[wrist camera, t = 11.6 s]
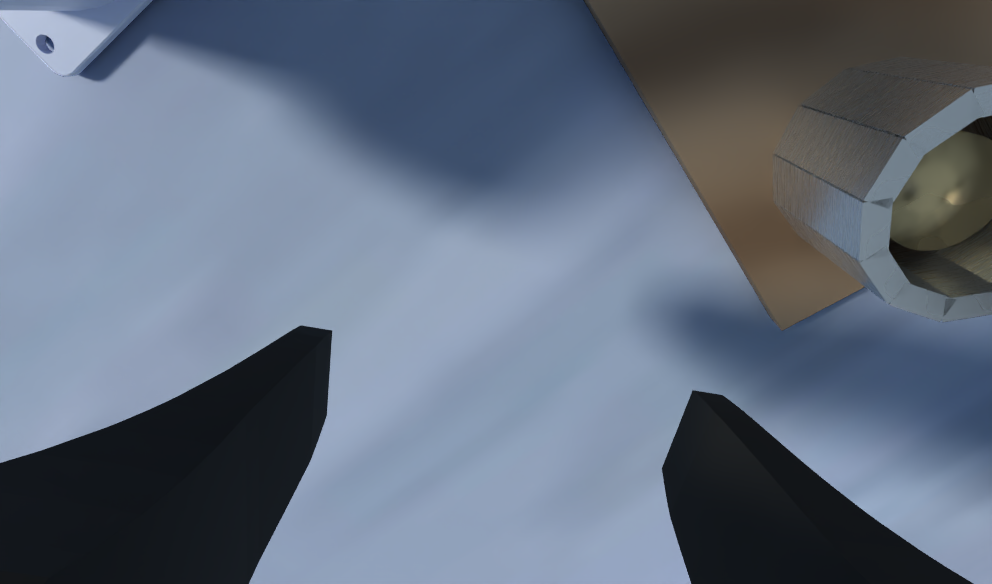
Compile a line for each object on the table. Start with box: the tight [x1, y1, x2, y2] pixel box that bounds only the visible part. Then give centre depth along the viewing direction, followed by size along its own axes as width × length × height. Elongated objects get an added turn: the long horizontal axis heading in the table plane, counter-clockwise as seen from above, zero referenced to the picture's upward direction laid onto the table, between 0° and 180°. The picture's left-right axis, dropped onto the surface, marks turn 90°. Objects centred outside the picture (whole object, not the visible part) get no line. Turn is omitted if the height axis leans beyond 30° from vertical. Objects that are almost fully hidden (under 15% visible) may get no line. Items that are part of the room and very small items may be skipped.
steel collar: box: [772, 57, 992, 322], centre depth 15 cm, size 6×6×5 cm
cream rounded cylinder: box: [890, 130, 992, 251], centre depth 16 cm, size 3×3×4 cm
